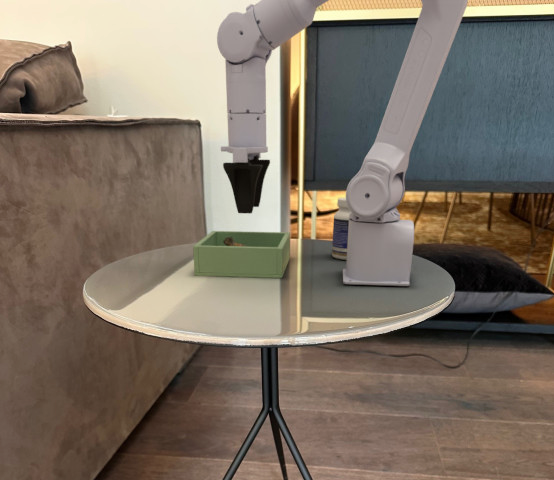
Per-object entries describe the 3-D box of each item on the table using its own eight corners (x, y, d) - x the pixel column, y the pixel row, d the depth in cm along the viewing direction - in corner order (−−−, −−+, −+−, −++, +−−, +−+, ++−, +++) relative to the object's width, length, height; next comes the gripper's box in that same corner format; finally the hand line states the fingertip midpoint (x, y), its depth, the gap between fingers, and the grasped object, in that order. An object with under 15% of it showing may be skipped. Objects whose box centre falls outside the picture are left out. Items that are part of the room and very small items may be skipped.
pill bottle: (356, 262, 89) (360, 201, 85) (326, 258, 92) (328, 199, 88) (369, 256, 94) (373, 198, 90) (340, 252, 96) (343, 196, 92)
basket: (289, 258, 92) (289, 232, 90) (282, 278, 79) (282, 248, 78) (213, 256, 93) (212, 230, 91) (194, 275, 81) (192, 246, 79)
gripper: (229, 115, 84) (232, 203, 90) (209, 112, 71) (214, 215, 76) (272, 115, 83) (273, 204, 89) (260, 112, 70) (262, 216, 76)
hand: (249, 209), depth 83 cm, fingers open, 7 cm apart
